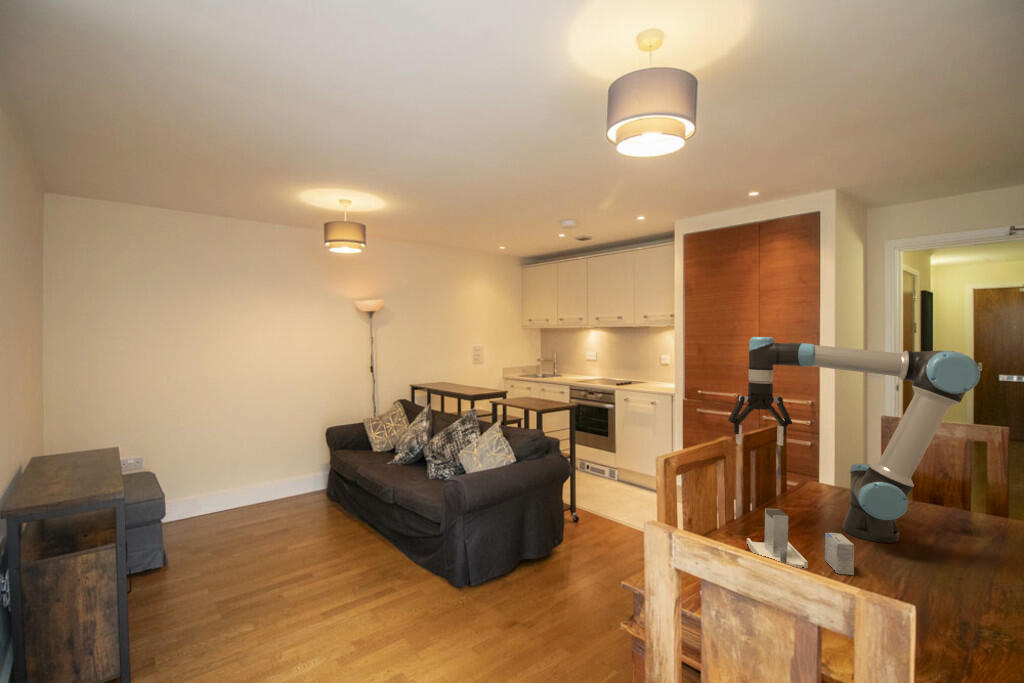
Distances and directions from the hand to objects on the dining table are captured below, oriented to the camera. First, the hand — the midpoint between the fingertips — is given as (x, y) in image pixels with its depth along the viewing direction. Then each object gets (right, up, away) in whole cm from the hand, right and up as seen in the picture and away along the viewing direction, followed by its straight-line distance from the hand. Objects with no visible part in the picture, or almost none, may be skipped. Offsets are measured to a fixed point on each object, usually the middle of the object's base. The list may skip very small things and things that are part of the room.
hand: (759, 444), depth 167 cm
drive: (-6, -28, -21) cm, 35 cm away
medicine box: (+8, -29, -28) cm, 42 cm away
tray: (-6, -29, -21) cm, 36 cm away
